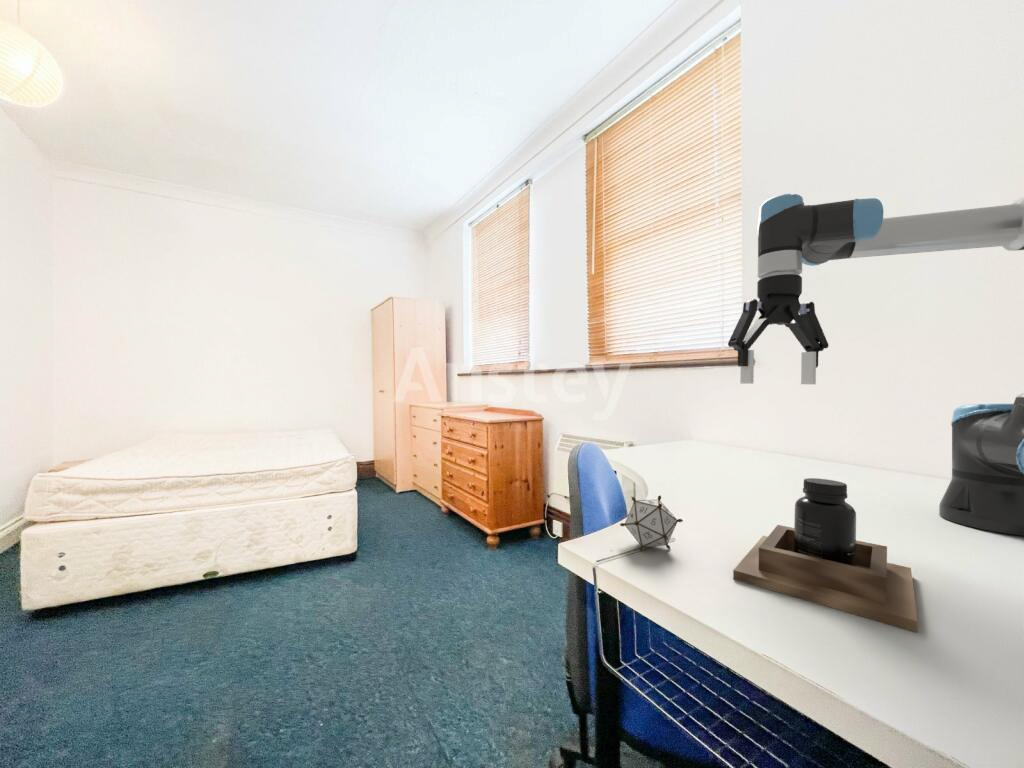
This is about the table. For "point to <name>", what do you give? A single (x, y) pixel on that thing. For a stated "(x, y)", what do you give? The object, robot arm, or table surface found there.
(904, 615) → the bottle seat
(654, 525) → the game die
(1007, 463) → the robot arm
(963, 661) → the table surface
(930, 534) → the table surface
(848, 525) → the supplement bottle
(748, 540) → the table surface
